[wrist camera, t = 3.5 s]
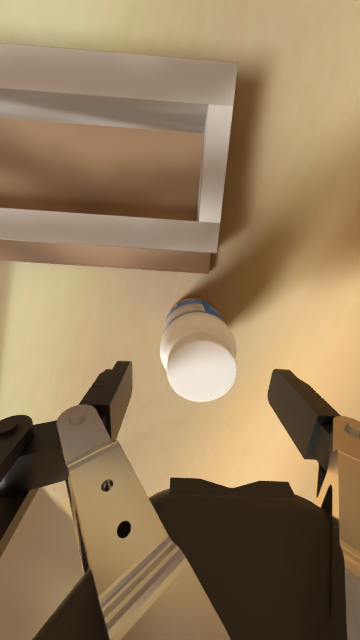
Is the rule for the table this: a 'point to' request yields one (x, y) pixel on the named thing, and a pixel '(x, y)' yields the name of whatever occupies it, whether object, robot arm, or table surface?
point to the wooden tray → (112, 157)
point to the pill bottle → (198, 351)
